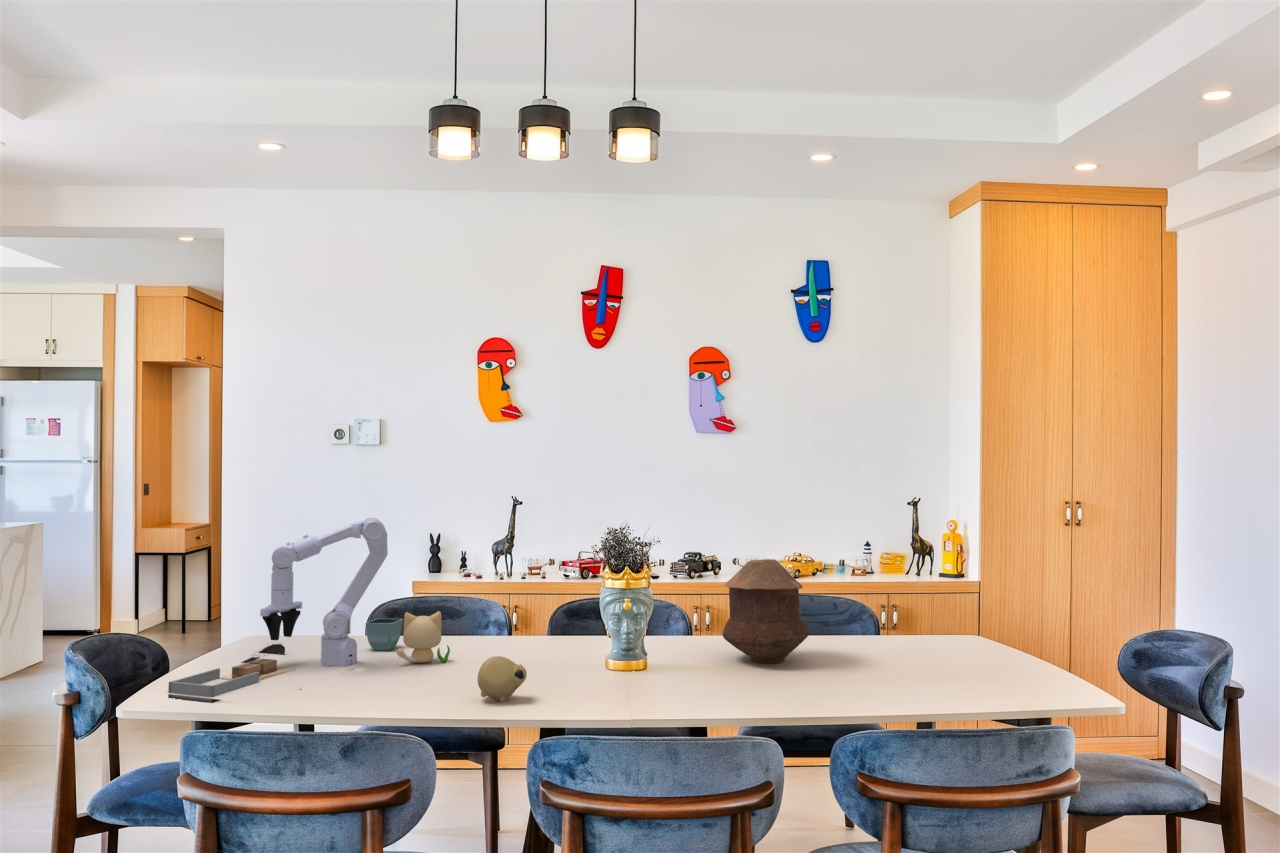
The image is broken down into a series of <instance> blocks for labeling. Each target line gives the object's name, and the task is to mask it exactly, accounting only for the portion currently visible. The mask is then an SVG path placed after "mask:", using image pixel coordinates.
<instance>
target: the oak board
mask: <svg viewBox="0 0 1280 853" xmlns="http://www.w3.org/2000/svg"><path fill="white" fill-rule="evenodd" d="M295 670H296V669H295V668H290V667H289V668H288V667H287V668H286V667H277V671H275V672H272V673H269V674H265V675H261V676H259V682H261V681H264V680H266V679H270V678H273V677H276V676H278V675H280V676H281V675H282V674H286V673H289V672H292V671H295ZM221 678H224V679H232V674H229V675H226V676H223V677H221Z"/></svg>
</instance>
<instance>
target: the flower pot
mask: <svg viewBox="0 0 1280 853" xmlns="http://www.w3.org/2000/svg"><path fill="white" fill-rule="evenodd" d="M403 622H404V618H375V619H371V620H369V621H367V622H365V627H366V630H365V631H366V638H367V642H368V643H369V645H370V647H371V649H372V650H373V651H386V650H388V651H390V650H392V649H394V648H396V646H397V644H398V642H399V640H400V639H401V634H402V627H403Z"/></svg>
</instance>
